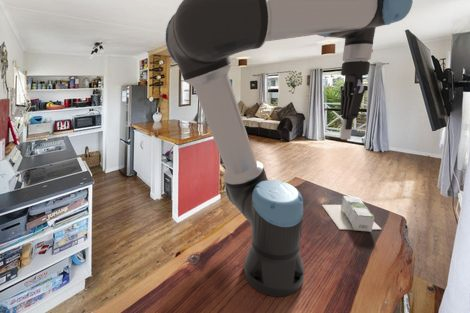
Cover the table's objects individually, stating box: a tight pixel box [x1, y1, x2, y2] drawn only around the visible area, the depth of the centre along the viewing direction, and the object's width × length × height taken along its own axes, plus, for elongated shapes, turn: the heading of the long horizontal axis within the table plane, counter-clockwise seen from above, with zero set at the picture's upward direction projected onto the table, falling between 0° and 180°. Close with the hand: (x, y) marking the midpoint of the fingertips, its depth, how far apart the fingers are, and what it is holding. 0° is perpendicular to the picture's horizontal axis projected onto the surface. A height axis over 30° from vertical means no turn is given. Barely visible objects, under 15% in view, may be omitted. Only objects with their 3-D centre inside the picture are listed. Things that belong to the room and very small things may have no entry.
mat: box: [321, 204, 382, 231], centre depth 86 cm, size 14×16×1 cm
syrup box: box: [340, 195, 375, 233], centre depth 83 cm, size 6×6×14 cm
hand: (345, 138), depth 76 cm, fingers closed
